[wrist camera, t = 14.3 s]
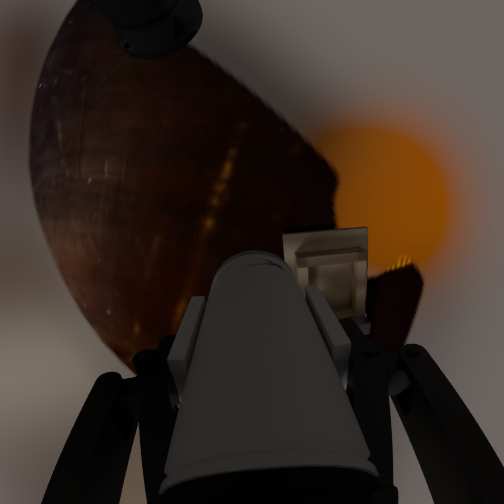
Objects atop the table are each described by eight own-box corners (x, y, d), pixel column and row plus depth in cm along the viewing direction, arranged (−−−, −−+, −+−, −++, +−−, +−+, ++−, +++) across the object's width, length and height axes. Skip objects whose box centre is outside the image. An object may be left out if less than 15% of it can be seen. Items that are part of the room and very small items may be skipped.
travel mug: (264, 228, 20) (372, 592, 1) (311, 299, 22) (426, 567, 2) (193, 275, 21) (74, 571, 2) (243, 339, 23) (244, 606, 3)
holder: (282, 233, 45) (286, 239, 41) (365, 226, 45) (375, 231, 41) (289, 368, 52) (292, 381, 48) (358, 357, 52) (365, 368, 48)
